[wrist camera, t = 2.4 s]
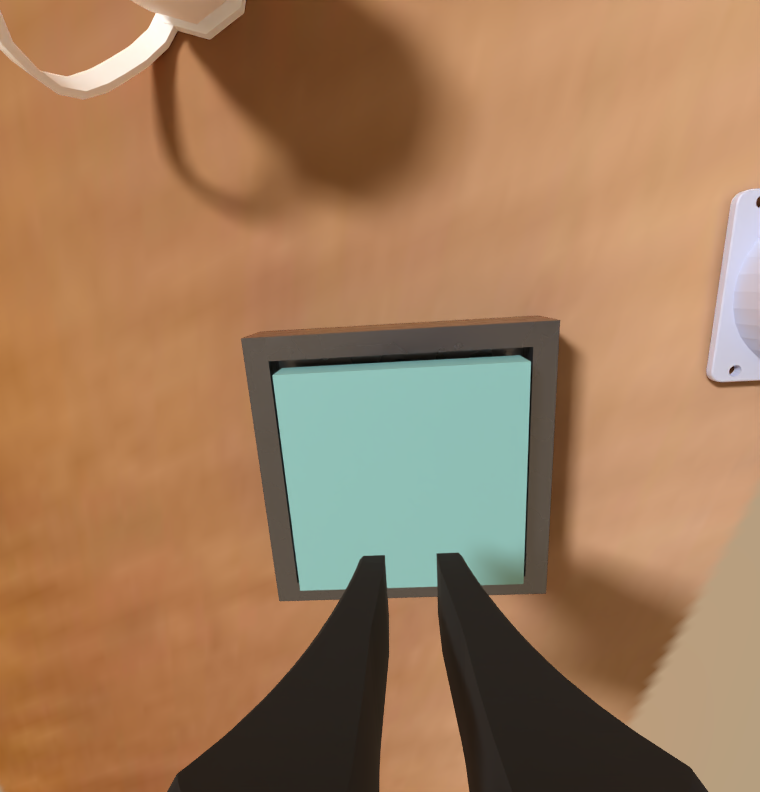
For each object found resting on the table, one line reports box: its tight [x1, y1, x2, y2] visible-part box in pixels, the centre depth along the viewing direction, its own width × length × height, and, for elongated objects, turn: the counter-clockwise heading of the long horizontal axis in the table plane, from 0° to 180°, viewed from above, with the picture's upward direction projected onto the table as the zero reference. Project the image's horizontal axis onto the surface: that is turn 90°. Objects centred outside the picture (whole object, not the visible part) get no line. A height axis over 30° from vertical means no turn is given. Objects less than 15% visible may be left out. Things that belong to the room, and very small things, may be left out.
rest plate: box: [272, 355, 531, 591], centre depth 18 cm, size 10×10×2 cm
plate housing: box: [241, 316, 560, 601], centre depth 19 cm, size 13×13×2 cm
